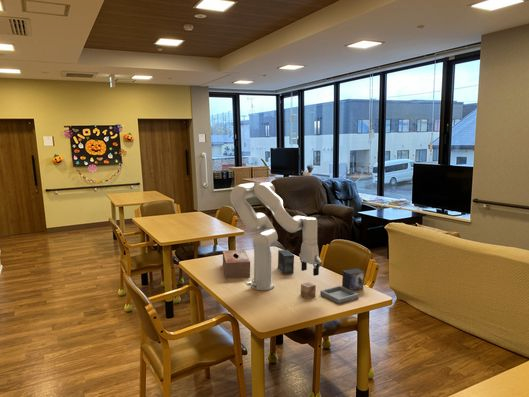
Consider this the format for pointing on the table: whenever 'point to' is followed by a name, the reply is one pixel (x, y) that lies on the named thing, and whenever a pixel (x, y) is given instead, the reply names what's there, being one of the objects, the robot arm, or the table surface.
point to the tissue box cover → (236, 264)
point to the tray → (339, 294)
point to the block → (308, 290)
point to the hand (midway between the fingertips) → (309, 272)
